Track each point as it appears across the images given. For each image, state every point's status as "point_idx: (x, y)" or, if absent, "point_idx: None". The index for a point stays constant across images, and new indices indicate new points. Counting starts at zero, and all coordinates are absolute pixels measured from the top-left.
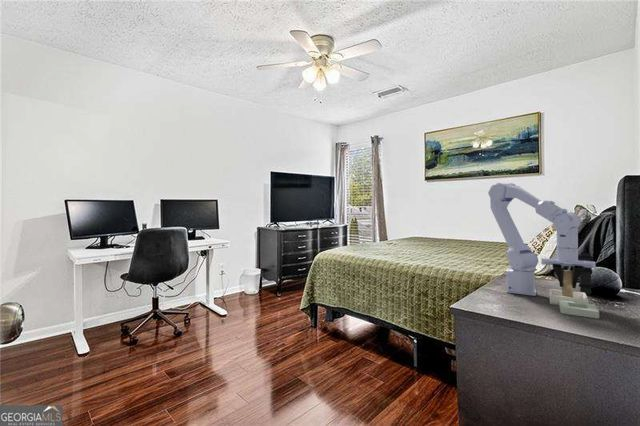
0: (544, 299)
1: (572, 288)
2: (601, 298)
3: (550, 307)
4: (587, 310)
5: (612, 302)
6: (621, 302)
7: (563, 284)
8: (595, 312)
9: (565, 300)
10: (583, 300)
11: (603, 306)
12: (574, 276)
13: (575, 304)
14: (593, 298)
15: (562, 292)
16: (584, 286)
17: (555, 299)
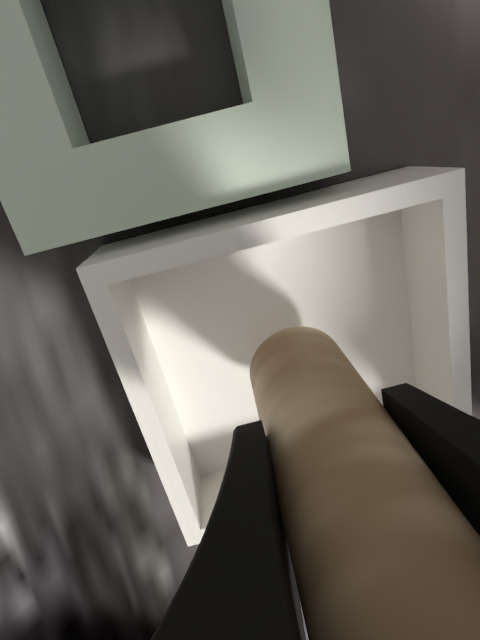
0: None
1: (268, 420)
2: (127, 626)
3: (392, 5)
4: None
5: (45, 580)
6: (6, 616)
7: (385, 413)
8: None
9: (289, 184)
10: (126, 254)
11: (48, 430)
12: (267, 567)
13: (180, 124)
14: (165, 594)
15: (353, 366)
16: None
17: (384, 181)
